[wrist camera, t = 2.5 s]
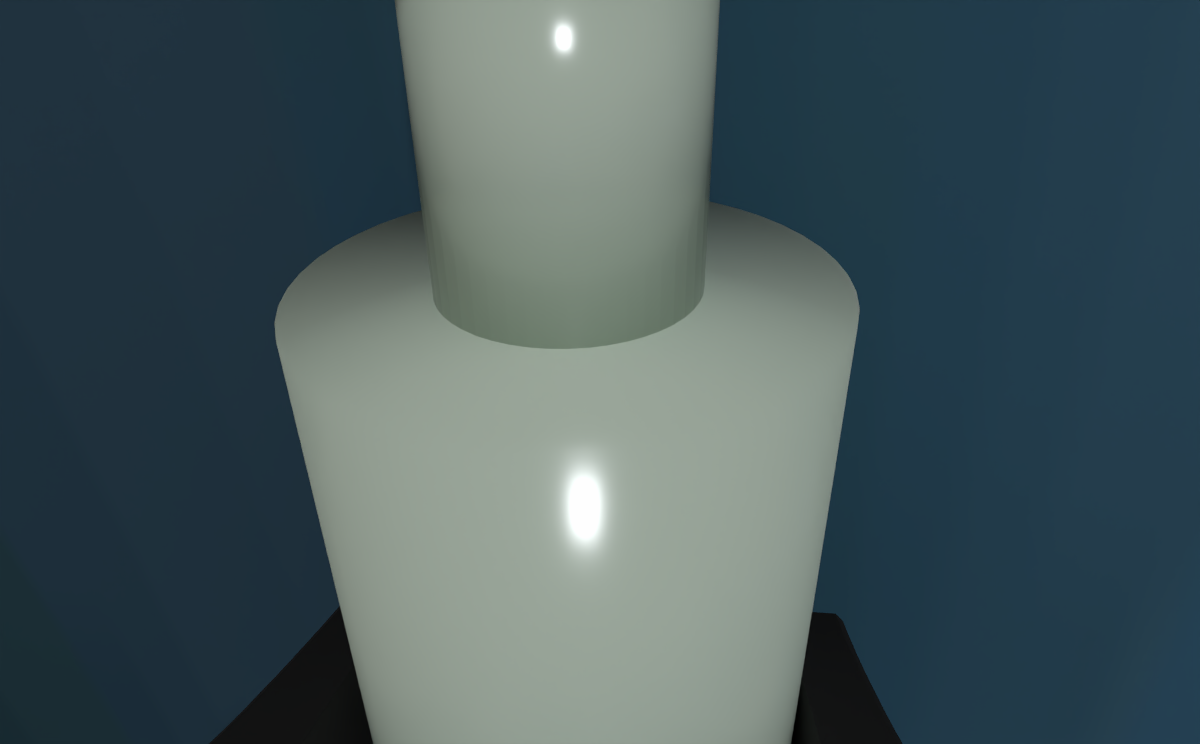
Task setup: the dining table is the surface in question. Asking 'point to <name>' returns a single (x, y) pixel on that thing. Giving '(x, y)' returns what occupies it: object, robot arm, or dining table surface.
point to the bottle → (570, 397)
